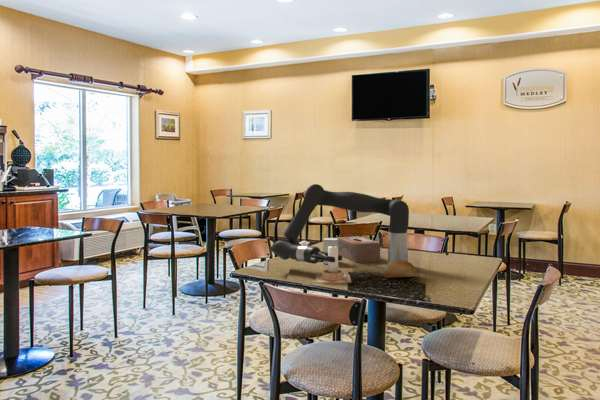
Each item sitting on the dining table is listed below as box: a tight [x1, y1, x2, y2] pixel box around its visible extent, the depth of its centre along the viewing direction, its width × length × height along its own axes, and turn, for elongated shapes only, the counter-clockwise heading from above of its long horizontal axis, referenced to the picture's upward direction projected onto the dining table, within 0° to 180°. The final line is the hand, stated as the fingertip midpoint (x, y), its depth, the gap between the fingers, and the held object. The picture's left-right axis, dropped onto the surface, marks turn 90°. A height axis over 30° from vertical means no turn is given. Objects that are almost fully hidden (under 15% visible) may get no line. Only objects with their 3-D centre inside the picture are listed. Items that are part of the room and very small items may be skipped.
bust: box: [298, 240, 310, 246], centre depth 261 cm, size 12×8×11 cm
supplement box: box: [322, 237, 338, 265], centre depth 251 cm, size 7×7×13 cm
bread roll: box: [383, 260, 417, 279], centre depth 217 cm, size 10×15×8 cm, turn 96°
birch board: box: [315, 273, 352, 284], centre depth 210 cm, size 15×15×2 cm
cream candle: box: [327, 245, 339, 273], centre depth 209 cm, size 4×4×13 cm
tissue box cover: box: [335, 235, 381, 264], centre depth 266 cm, size 26×14×10 cm, turn 18°
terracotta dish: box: [321, 269, 345, 281], centre depth 210 cm, size 9×9×3 cm
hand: (338, 259), depth 208 cm, fingers closed on cream candle, 4 cm apart
